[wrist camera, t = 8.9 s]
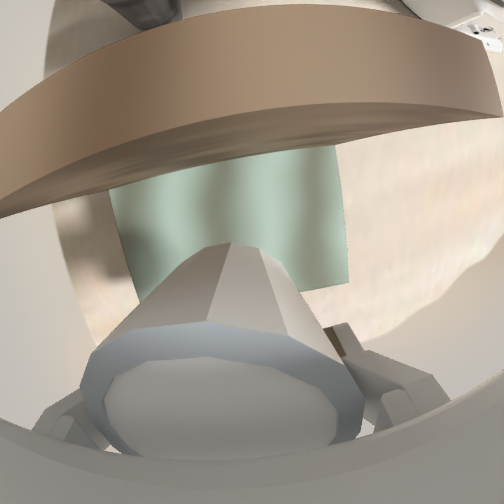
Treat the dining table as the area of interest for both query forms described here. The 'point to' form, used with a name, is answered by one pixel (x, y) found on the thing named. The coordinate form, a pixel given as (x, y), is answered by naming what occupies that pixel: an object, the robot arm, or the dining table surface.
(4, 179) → the wall shelf
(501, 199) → the dining table surface
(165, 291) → the white cup
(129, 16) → the beverage cup
